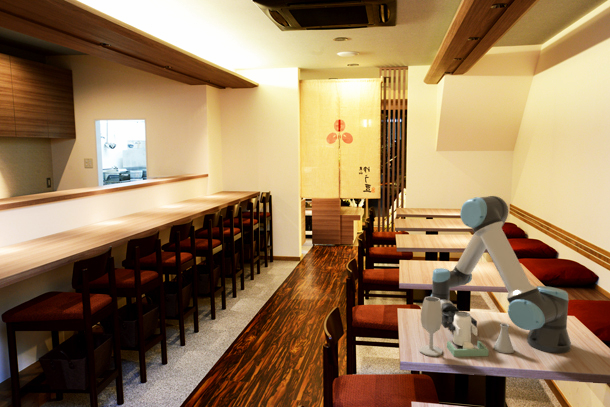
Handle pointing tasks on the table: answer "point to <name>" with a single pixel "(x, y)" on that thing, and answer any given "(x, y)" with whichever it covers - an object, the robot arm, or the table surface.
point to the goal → (468, 350)
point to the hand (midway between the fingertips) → (467, 332)
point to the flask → (504, 340)
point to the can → (462, 328)
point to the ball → (468, 345)
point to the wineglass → (431, 323)
